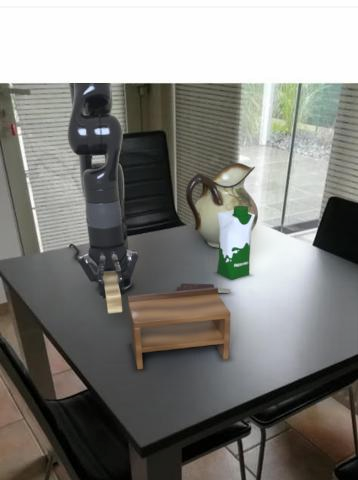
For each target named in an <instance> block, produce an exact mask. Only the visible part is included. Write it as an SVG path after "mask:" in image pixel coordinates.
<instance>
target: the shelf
mask: <svg viewBox="0 0 358 480" xmlns="http://www.w3.org/2000/svg"><path fill="white" fill-rule="evenodd" d="M218 289H219V287H216V286H215V287H214V288H206V289H195V290H184V291H177V290H174V291H164V292H153V293H145V294H144V293H142V294H133V295H131V294H130V295H127V301H128V302H127V303H128V313H129V314H128V315H129V325H130V326H129V327H130V337H131V346H132V351H133V356H134V359H135V364H136V365H135V366H136V369H137V370H144V363H143V361H144V359H143V353H150V352H152V353H153V352H160V351H169V350H178V349H179V350H180V349H187V348H195V347H204V346H213V345H215V347H216V349H217V350H218V352H219V354H220V356H221V358H222V360H229V358H230V357H229V355H230V339H231V337H230V336H231V334H230V333H231V311H230V310H229V309H228V307H227V305H226V304H225V302H224V301H223V300H222V298H221V296H220V295H219V293H218Z"/></svg>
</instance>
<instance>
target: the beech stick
mask: <svg viewBox="0 0 358 480" xmlns="http://www.w3.org/2000/svg"><path fill="white" fill-rule="evenodd" d="M103 280H104V284H105V295H106V298H105V301H106V302H105V303H106V308H107V314H116V313H123V302H122V297H121V294H120V289H119V285H118V281H117V275H116V271H105V272H104V277H103Z"/></svg>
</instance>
